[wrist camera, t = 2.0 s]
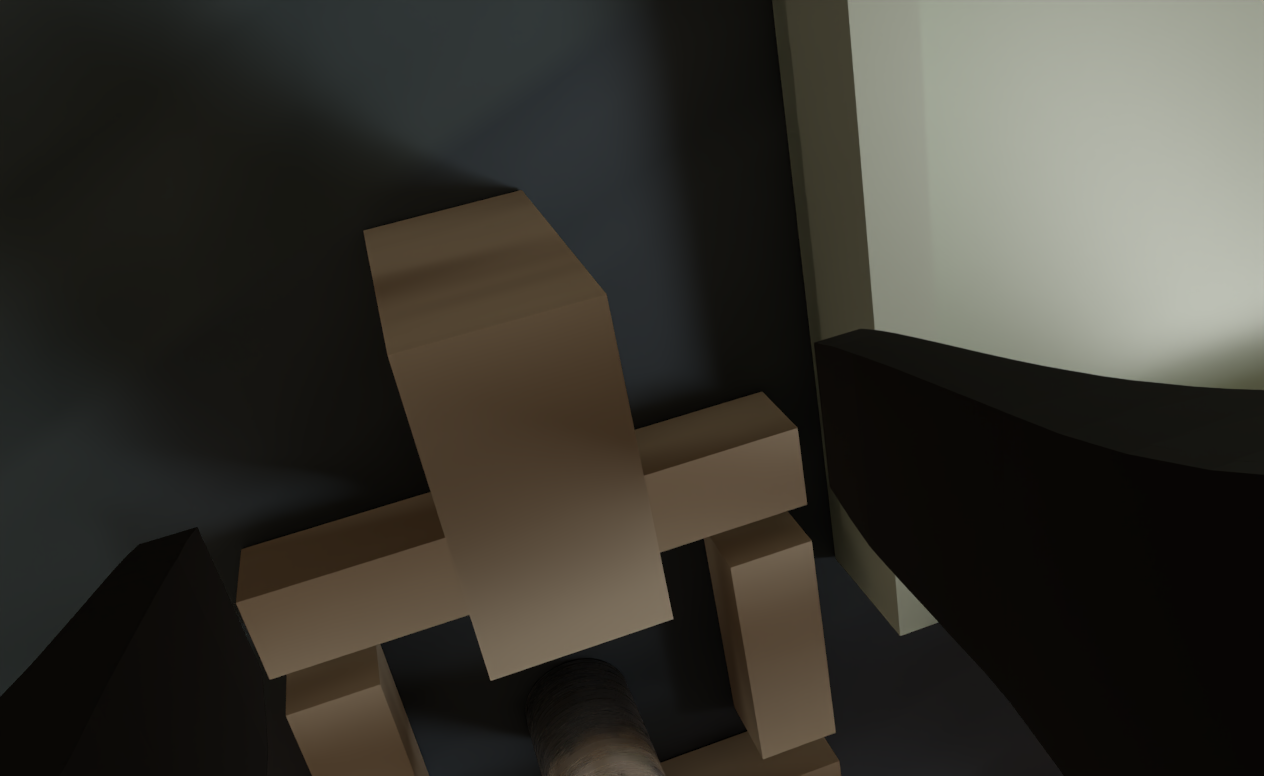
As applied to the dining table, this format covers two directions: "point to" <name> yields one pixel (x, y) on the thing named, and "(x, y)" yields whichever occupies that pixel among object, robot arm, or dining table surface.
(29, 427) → the dining table surface
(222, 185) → the dining table surface
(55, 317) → the dining table surface
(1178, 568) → the robot arm
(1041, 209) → the tray
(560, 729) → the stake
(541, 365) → the tan joined block frame
